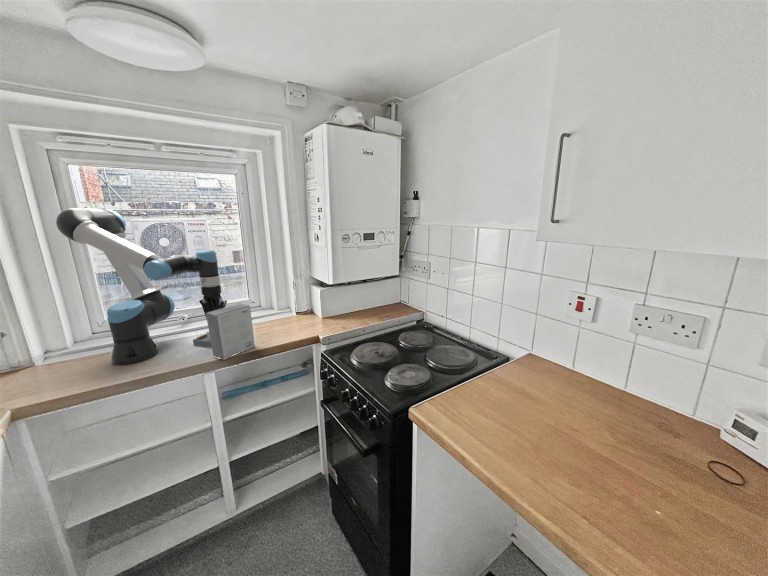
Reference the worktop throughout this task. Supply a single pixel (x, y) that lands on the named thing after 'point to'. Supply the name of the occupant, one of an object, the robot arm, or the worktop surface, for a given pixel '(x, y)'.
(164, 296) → the robot arm
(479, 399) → the worktop surface
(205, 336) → the dark grey tray
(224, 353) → the hard drive box
